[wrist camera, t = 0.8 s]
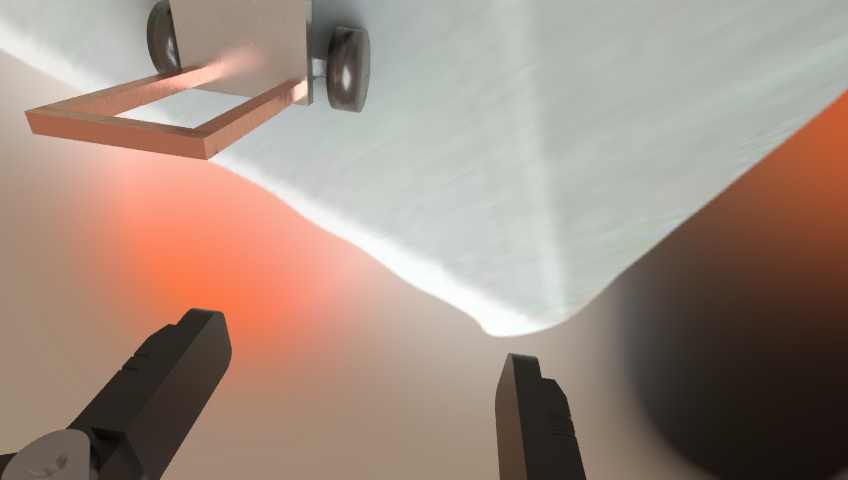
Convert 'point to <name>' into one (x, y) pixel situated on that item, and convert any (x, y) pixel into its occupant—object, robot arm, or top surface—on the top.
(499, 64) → the top surface
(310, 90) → the trolley
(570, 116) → the top surface
